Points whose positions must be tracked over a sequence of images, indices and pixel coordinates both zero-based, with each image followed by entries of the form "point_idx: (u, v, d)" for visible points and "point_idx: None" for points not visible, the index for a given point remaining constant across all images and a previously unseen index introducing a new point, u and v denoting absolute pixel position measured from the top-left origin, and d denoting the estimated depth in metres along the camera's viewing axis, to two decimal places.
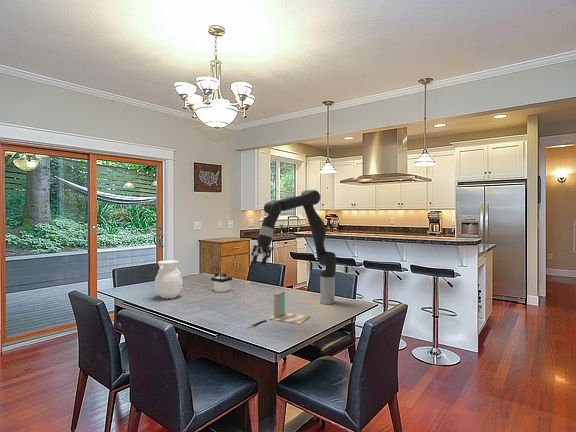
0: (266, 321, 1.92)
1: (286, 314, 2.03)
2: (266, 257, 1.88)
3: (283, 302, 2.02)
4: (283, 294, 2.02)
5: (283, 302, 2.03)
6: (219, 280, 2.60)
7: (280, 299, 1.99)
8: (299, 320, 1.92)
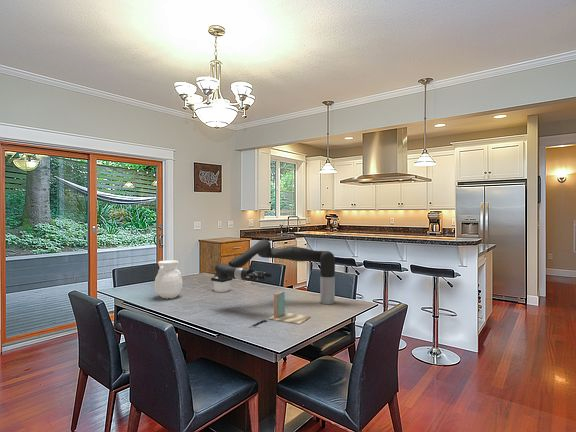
0: (266, 321, 1.92)
1: (286, 314, 2.03)
2: (256, 278, 2.01)
3: (283, 302, 2.02)
4: (283, 294, 2.02)
5: (283, 302, 2.03)
6: (219, 280, 2.60)
7: (280, 299, 1.99)
8: (299, 320, 1.92)
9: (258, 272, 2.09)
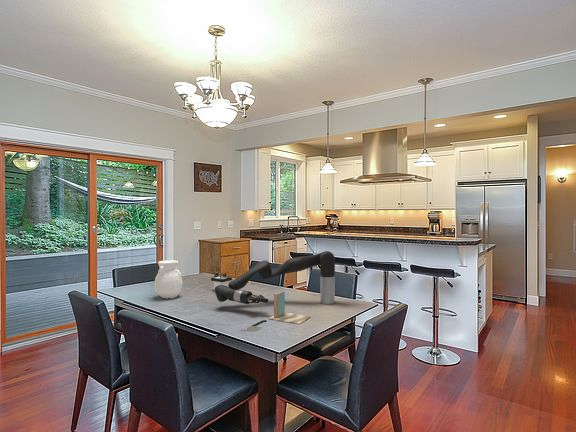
0: (266, 321, 1.92)
1: (286, 314, 2.03)
2: (259, 301, 2.03)
3: (283, 302, 2.02)
4: (283, 294, 2.02)
5: (283, 302, 2.03)
6: (219, 280, 2.60)
7: (280, 299, 1.99)
8: (299, 320, 1.92)
9: None
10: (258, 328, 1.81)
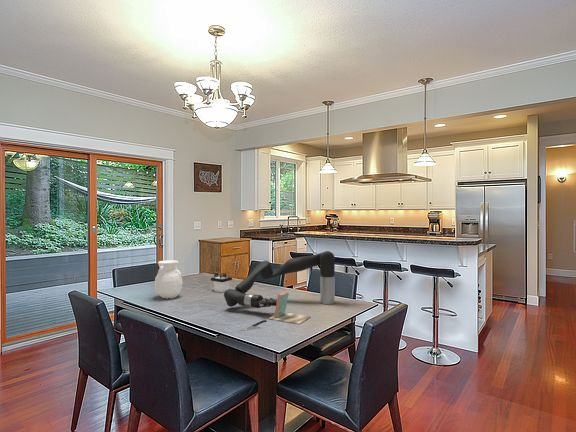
0: (266, 321, 1.92)
1: (286, 314, 2.03)
2: (270, 305, 2.01)
3: (285, 302, 2.01)
4: (287, 295, 2.01)
5: (286, 302, 2.02)
6: (219, 280, 2.60)
7: (283, 300, 1.98)
8: (299, 320, 1.92)
9: (267, 299, 2.05)
10: (258, 328, 1.81)
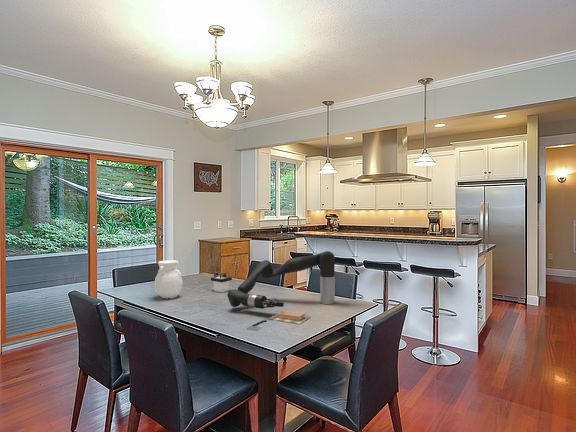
0: (266, 321, 1.92)
1: None
2: (274, 305, 1.99)
3: None
4: None
5: None
6: (219, 280, 2.60)
7: None
8: None
9: (271, 300, 2.04)
10: (258, 328, 1.81)
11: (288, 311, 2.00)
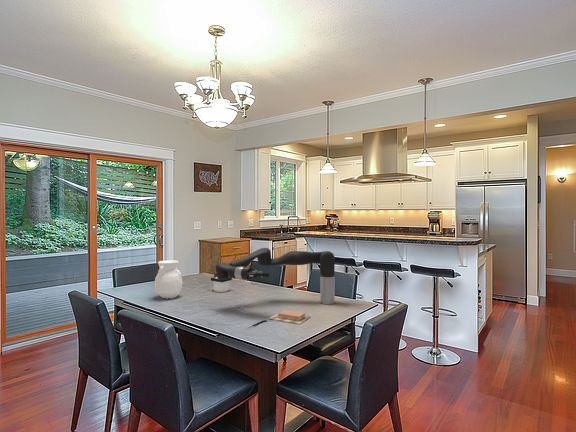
0: (266, 321, 1.92)
1: None
2: (260, 276, 2.03)
3: None
4: None
5: None
6: (219, 280, 2.60)
7: None
8: None
9: None
10: None
11: (288, 311, 2.00)
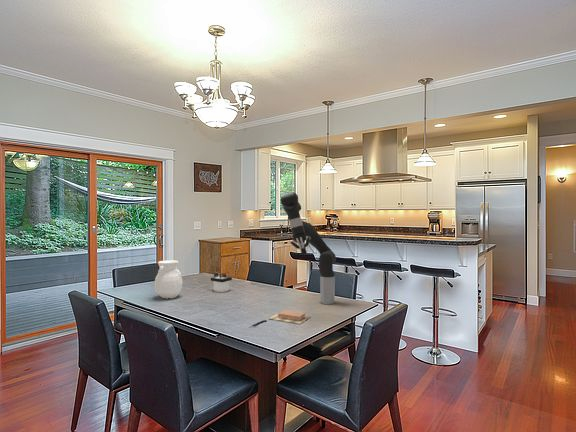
0: (266, 321, 1.92)
1: None
2: (306, 246, 2.08)
3: None
4: None
5: None
6: (219, 280, 2.60)
7: None
8: None
9: None
10: None
11: (288, 311, 2.00)
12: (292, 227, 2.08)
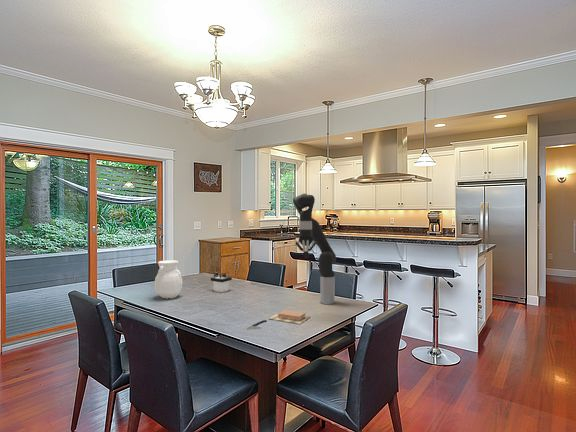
0: (266, 321, 1.92)
1: None
2: (309, 250, 2.09)
3: None
4: None
5: None
6: (219, 280, 2.60)
7: None
8: None
9: None
10: (258, 328, 1.81)
11: (288, 311, 2.00)
12: (302, 229, 2.07)
